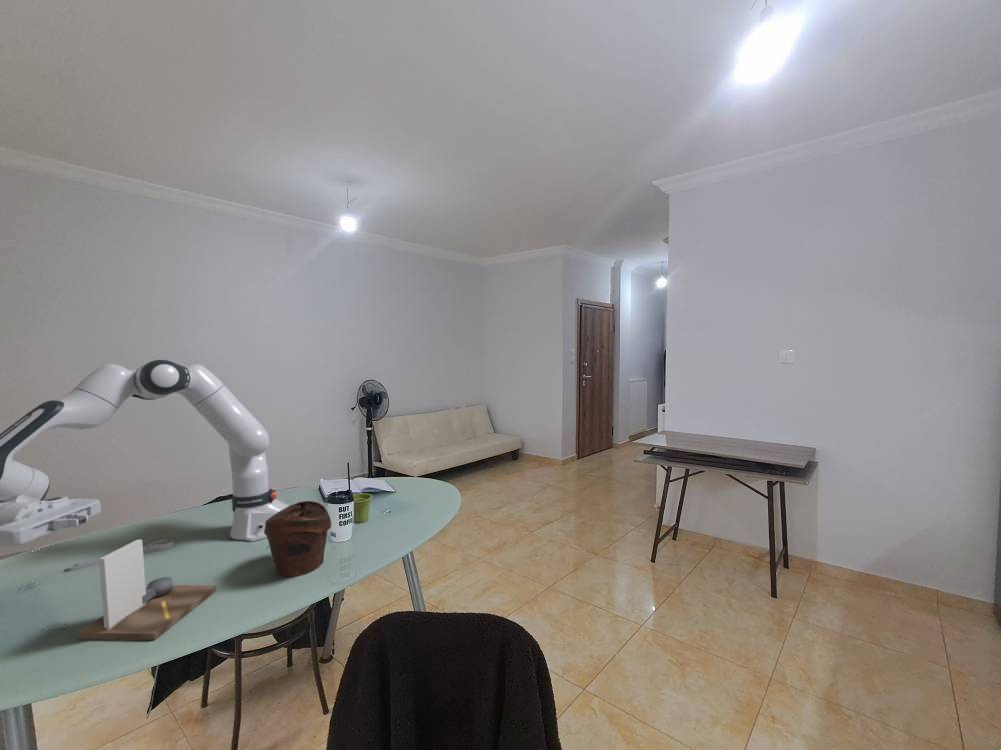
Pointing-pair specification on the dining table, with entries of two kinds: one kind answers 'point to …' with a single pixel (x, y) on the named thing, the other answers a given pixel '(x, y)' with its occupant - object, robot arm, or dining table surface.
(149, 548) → the adjustable wrench
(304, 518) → the case
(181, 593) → the dial board
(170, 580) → the white upright panel
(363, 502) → the plant pot
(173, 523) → the dining table surface
